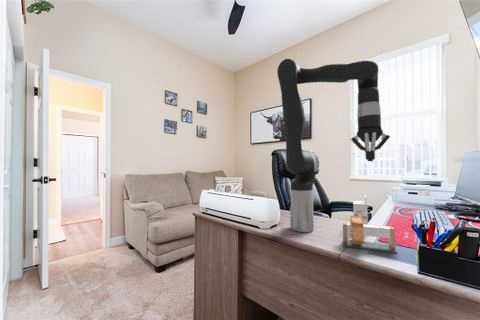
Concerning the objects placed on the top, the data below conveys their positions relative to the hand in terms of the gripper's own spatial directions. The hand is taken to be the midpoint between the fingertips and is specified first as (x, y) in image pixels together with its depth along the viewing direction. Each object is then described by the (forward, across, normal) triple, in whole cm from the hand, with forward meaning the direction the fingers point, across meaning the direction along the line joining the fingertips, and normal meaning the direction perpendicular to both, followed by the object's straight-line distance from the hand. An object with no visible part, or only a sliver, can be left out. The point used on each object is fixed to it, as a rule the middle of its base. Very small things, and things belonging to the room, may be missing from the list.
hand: (370, 161), depth 80 cm
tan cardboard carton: (+27, -6, -10) cm, 29 cm away
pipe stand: (+29, -3, -10) cm, 31 cm away
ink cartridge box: (+29, -3, +10) cm, 31 cm away
